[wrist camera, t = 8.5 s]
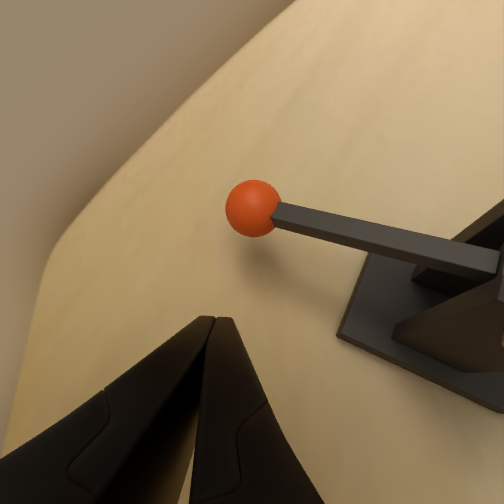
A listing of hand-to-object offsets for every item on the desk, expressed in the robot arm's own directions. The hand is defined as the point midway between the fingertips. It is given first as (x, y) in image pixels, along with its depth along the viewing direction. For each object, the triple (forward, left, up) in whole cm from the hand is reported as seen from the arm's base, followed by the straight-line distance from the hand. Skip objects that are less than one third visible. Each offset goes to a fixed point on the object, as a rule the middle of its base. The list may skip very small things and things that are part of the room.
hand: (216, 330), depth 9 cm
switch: (+8, -4, -7) cm, 11 cm away
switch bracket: (+8, -10, -13) cm, 18 cm away
